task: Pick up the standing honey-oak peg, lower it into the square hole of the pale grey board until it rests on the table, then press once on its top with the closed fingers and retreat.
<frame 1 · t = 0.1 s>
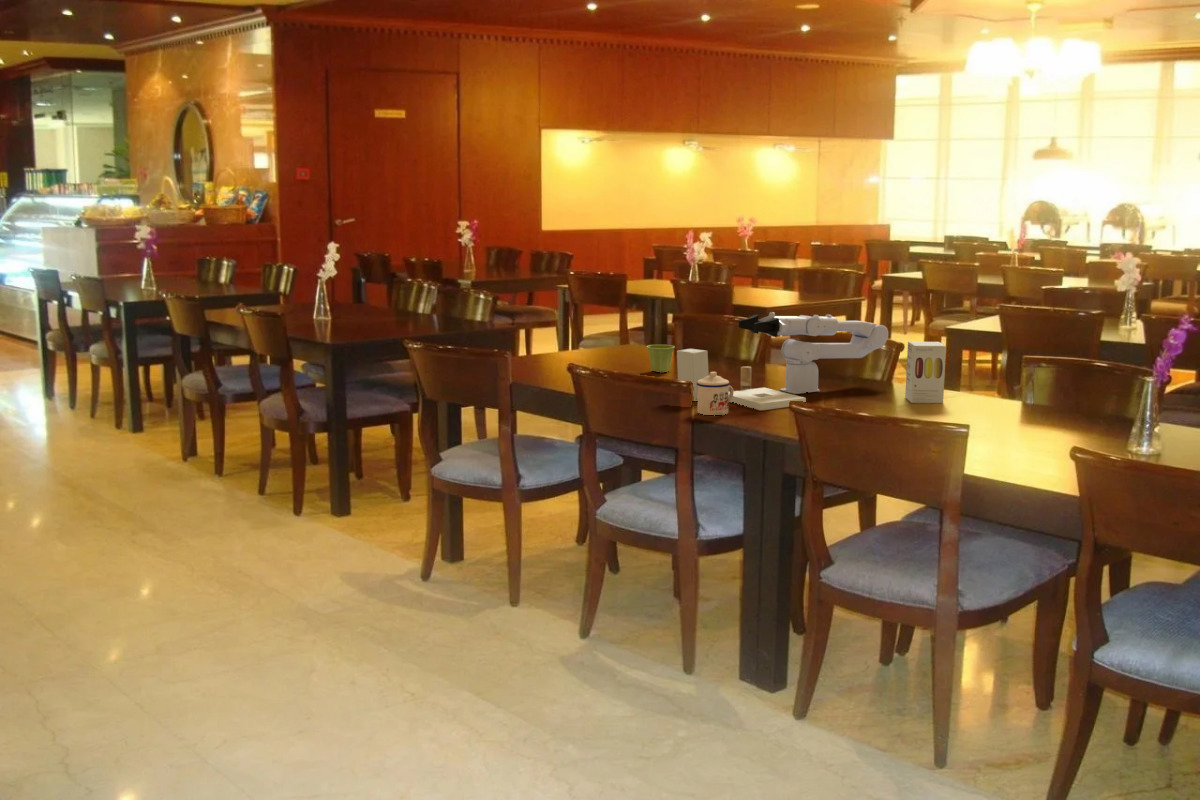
hand: (746, 325, 355), 22 cm above the table, tool horizontal, fingers open, 7 cm apart
skincare box: (693, 400, 357), on the table
peg: (745, 393, 366), on the table
plant pot: (660, 372, 407), on the table
teacup with lid: (716, 413, 338), on the table
supplement box: (924, 401, 351), on the table
board: (762, 401, 352), on the table
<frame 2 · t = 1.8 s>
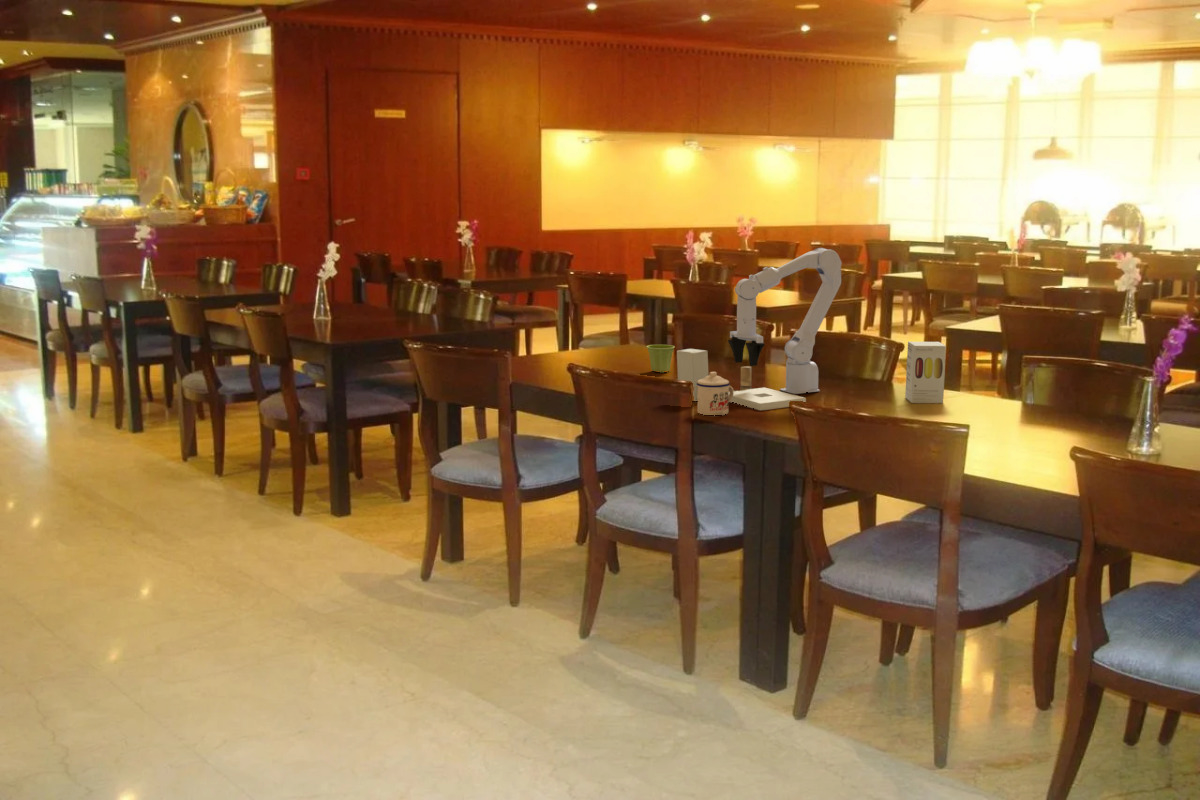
hand: (745, 364, 364), 9 cm above the table, tool pointing down, fingers open, 7 cm apart
nothing on the table moved.
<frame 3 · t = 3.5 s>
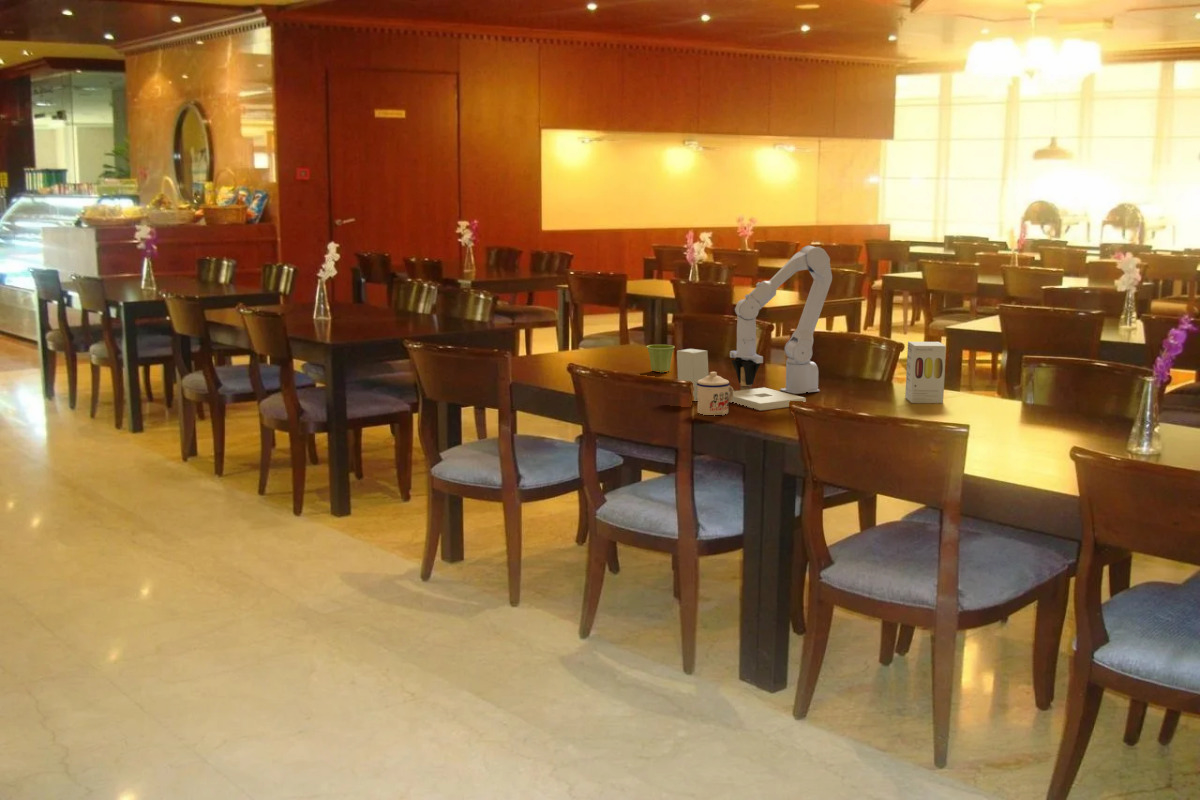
hand: (745, 383, 366), 3 cm above the table, tool pointing down, fingers closed on peg, 3 cm apart
peg: (745, 393, 366), on the table, touching gripper
everything else where it was.
when the fingers open (3 cm above the table, at t = 7.4 s): peg stays where it is, resting in board.
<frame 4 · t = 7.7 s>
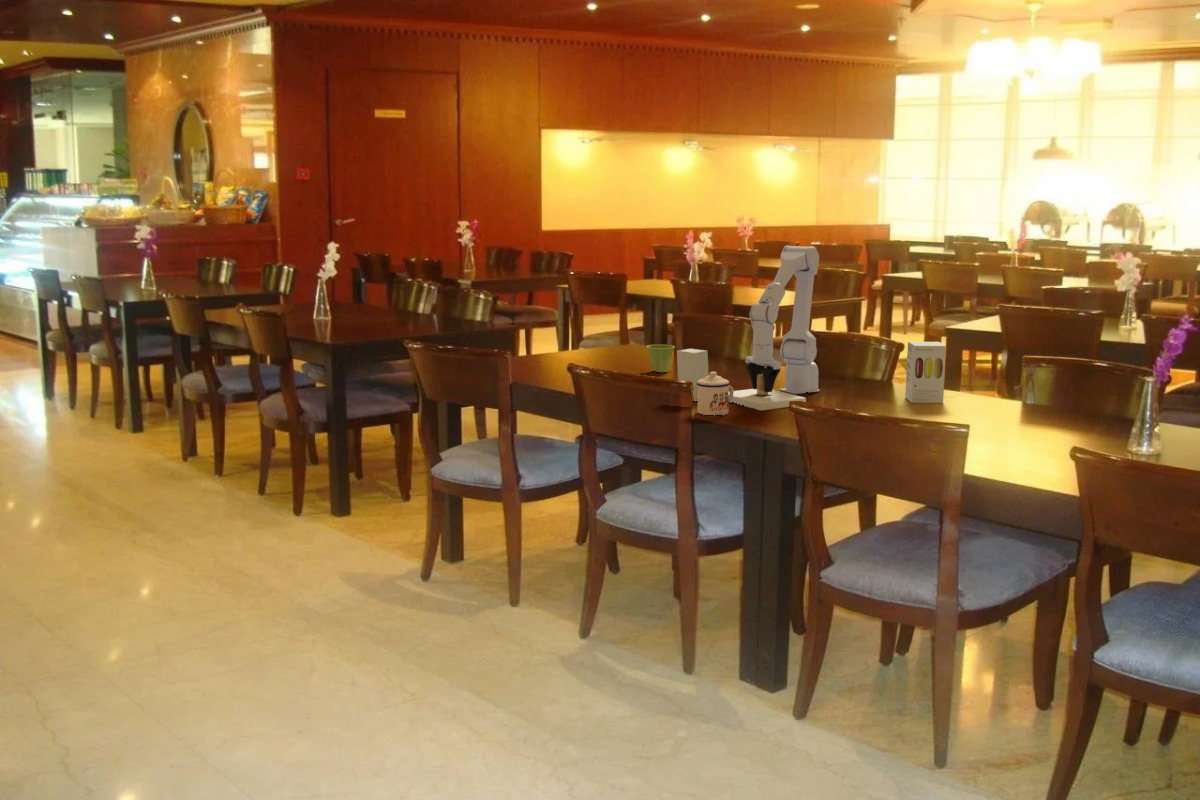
hand: (762, 390, 351), 3 cm above the table, tool pointing down, fingers open, 5 cm apart
peg: (762, 402, 352), resting in board
everything else where it was.
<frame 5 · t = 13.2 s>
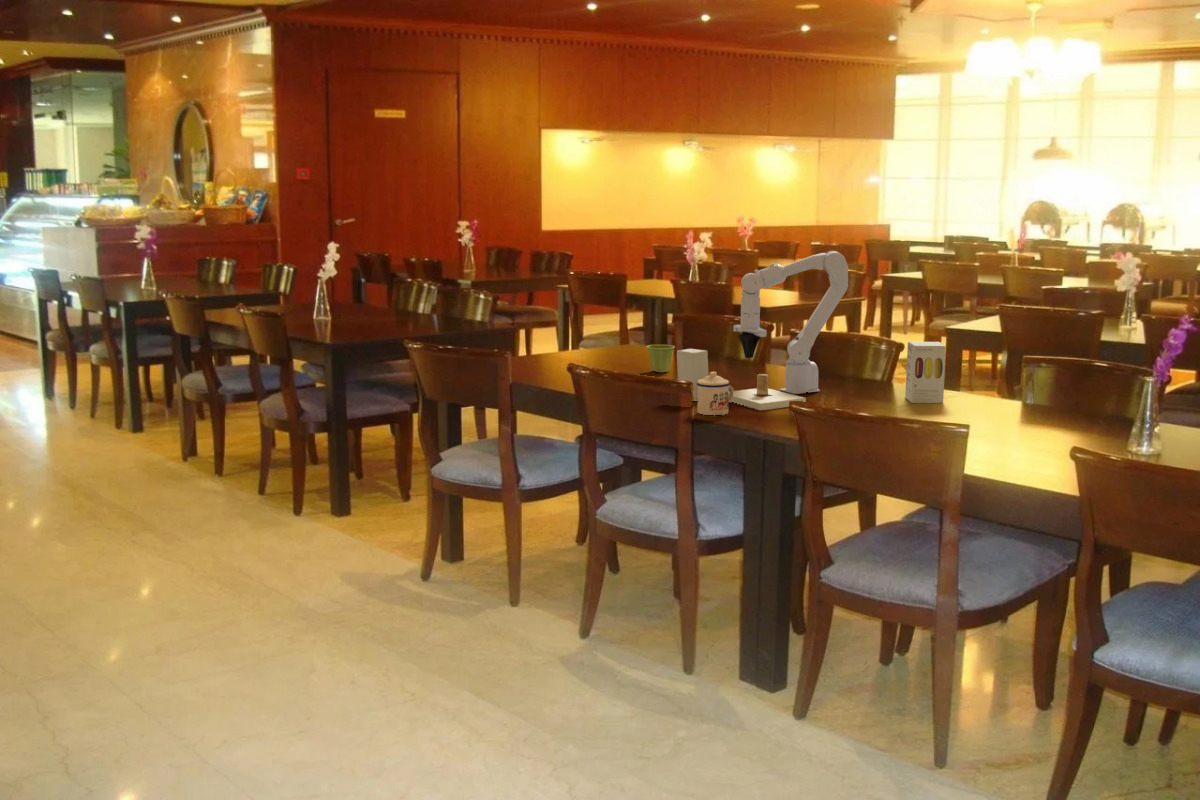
hand: (749, 357, 367), 10 cm above the table, tool pointing down, fingers closed
nothing on the table moved.
at the end: peg 0.1 cm off-centre on the board, point 0.0 cm above the board's base; peg tilted 0°; the gripper is holding nothing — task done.
